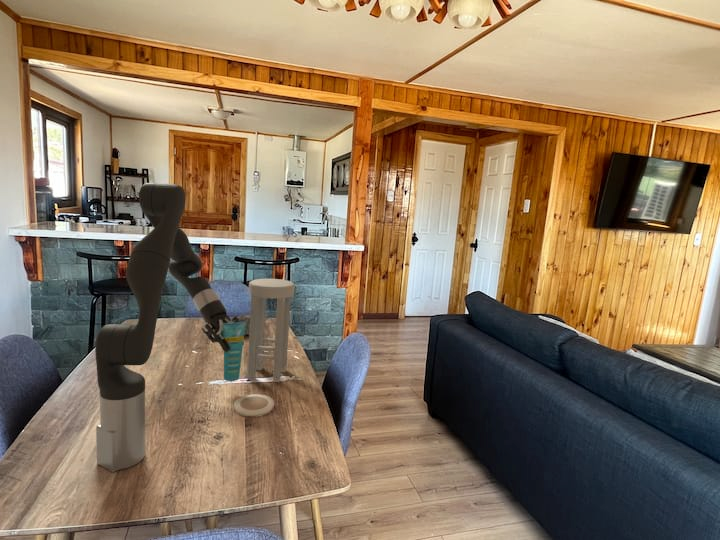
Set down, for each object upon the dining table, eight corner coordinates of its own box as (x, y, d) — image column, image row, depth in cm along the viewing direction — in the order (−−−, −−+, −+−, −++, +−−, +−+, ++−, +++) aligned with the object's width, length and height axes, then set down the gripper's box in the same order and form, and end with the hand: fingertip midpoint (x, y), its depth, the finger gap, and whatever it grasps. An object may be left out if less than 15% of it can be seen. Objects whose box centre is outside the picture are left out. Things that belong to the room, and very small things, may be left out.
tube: (222, 383, 131) (224, 325, 128) (218, 377, 135) (220, 321, 132) (245, 379, 135) (248, 323, 132) (240, 374, 139) (243, 319, 136)
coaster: (255, 420, 120) (256, 416, 120) (225, 408, 125) (225, 404, 125) (281, 404, 131) (281, 400, 131) (252, 394, 136) (252, 390, 136)
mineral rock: (224, 338, 186) (225, 317, 185) (225, 331, 197) (226, 310, 195) (253, 338, 190) (254, 317, 188) (253, 331, 200) (254, 311, 199)
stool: (283, 386, 144) (288, 288, 138) (239, 381, 145) (243, 284, 139) (292, 368, 159) (298, 280, 154) (253, 364, 160) (257, 276, 154)
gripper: (198, 302, 129) (225, 347, 125) (231, 296, 141) (256, 336, 138) (185, 316, 132) (211, 360, 128) (219, 308, 144) (244, 348, 141)
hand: (235, 347), depth 133 cm, fingers closed on tube, 5 cm apart
